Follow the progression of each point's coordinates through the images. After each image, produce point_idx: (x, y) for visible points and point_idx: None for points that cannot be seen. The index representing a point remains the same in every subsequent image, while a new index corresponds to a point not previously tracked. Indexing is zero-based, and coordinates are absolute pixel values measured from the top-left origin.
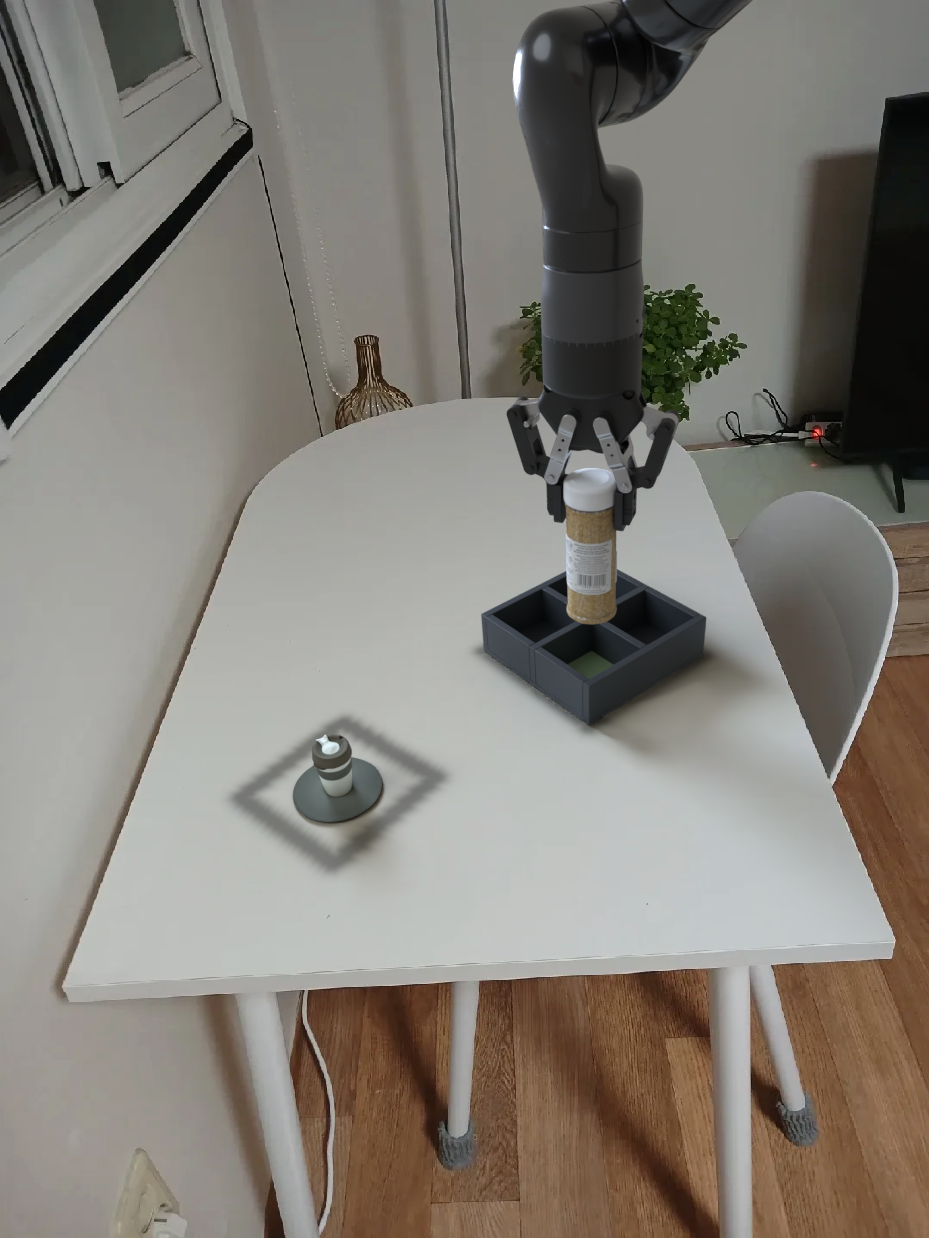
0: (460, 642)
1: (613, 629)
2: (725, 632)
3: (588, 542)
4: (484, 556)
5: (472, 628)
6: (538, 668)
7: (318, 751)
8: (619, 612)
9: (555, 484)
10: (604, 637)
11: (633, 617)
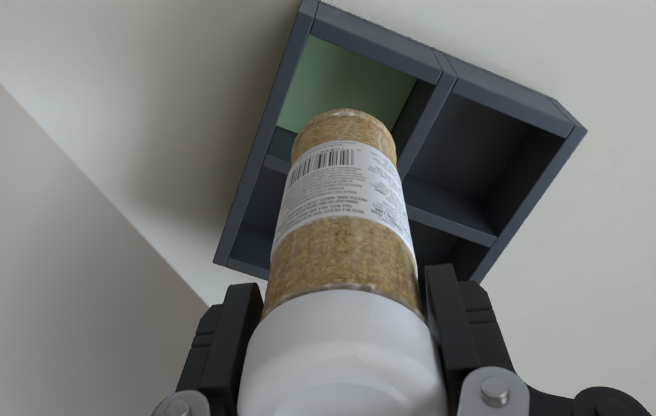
0: (606, 104)
1: None
2: (225, 274)
3: (319, 223)
4: (633, 311)
5: (596, 146)
6: (428, 56)
7: None
8: None
9: (472, 372)
10: None
11: None
